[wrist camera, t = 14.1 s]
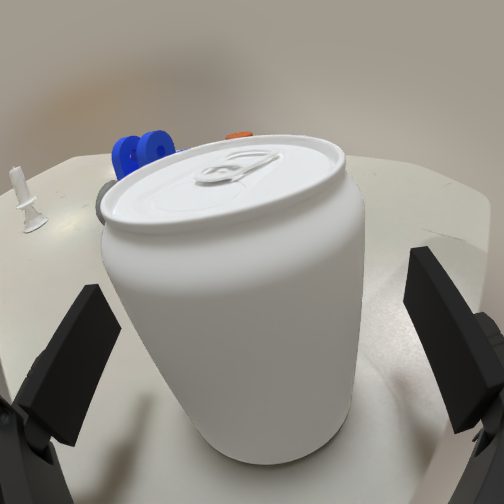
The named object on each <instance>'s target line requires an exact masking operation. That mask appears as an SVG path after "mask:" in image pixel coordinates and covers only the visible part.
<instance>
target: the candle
mask: <svg viewBox="0 0 504 504" xmlns="http://www.w3.org/2000/svg"><path fill="white" fill-rule="evenodd" d="M13 168H14V167H13ZM9 176H10V180H11V182H12V187H13V189H14V190H15V192H16V195H17V198H18V200H19V203H20V205H18V206H17V207H16V209H19V210H25V222H24V224H25V229H24V232H25V233H28V232H31V231H33V230H35V229H37V228H39V227H40V226H42V225H43V224H44V223H45V222H46V221H47V220H48V218H46V217H43V215H42V214H41V213H38V212H37V211H36V210H35V209H34V208H33V204H34V202H35V200H36V199H37V196H36V197H31V195H30V192H29V190H28V187H27V184H26V181H25V176H24V175H23V172H22V169H21V167H20V166H19V167H17V168H14V169H12V170H11V171H9Z"/></svg>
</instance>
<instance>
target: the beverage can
mask: <svg viewBox="0 0 504 504" xmlns="http://www.w3.org/2000/svg"><path fill="white" fill-rule="evenodd" d="M345 166H346V160H345V154H344V152H343V151H342V149H341V148H340V147H338V146H337V145H335V144H333V143H331V142H329V141H326V140H323V139H319V138H315V137H309V136H299V135H261V136H250V137H242V138H235V139H229V140H224V141H218V142H214V143H209V144H205V145H201V146H198V147H194V148H190V149H187V150H184V151H181V152H178V153H175V154H172V155H169V156H166V157H164V158H161V159H159V160H156V161H154V162H152V163H150V164H148V165H146V166H143V167H142V168H140V169H138V170H136V171H134V172H132V173H131V174H129V175H127V176H126V177H124V178H123V179H121V180H120V181H119V182H117V183H116V184H115V185H114V186H113V187H111V188H110V189H109V190H108V192H107V193H106V194H105V195H104V197H103V199H102V201H101V205H100V209H101V213H102V216H103V218H104V220H105V221H106V222H105V226H104V230H103V235H102V241H101V253H102V259H103V263H104V266H105V269H106V271H107V273H108V275H109V277H110V280H111V282H112V284H113V286H114V288H115V290H116V292H117V294H118V296H119V298H120V300H121V302H122V304H123V306H124V308H125V310H126V312H127V314H128V316H129V318H130V320H131V322H132V323H133V325H134V327H135V329H136V331H137V333H138V335H139V336H140V338H141V340H142V342H143V344H144V345H145V347H146V349H147V351H148V352H149V354H150V356H151V358H152V359H153V361H154V363H155V364H156V366H157V368H158V369H159V371H160V373H161V374H162V376H163V378H164V379H165V381H166V382H167V384H168V386H169V387H170V389H171V390H172V392H173V394H174V395H175V397H176V398H177V400H178V401H179V403H180V404H181V406H182V407H183V409H184V410H185V412H186V413H187V415H188V416H189V418H190V419H191V421H192V422H193V424H194V425H195V426H196V428H197V429H198V431H199V432H200V433H201V435H202V436H203V437H204V439H205V440H206V441H207V442H208V443H209V444H210V445H211V446H212V447H214V448H215V449H216V450H218V451H219V452H221V453H222V454H224V455H226V456H228V457H230V458H233V459H235V460H238V461H242V462H246V463H251V464H262V465H269V464H279V463H285V462H289V461H293V460H296V459H299V458H301V457H304V456H306V455H308V454H310V453H312V452H314V451H315V450H317V449H318V448H320V447H321V446H323V445H324V444H325V443H326V442H328V441H329V440H330V439H331V438H332V437H333V436H334V435H335V433H336V432H337V431H338V430H339V428H340V427H341V425H342V424H343V422H344V420H345V418H346V416H347V413H348V411H349V407H350V403H351V397H352V391H353V384H354V376H355V369H356V360H357V352H358V342H359V332H360V321H361V309H362V295H363V277H364V252H365V205H364V200H363V196H362V194H361V191H360V189H359V187H358V185H357V184H356V182H355V181H354V179H353V178H352V177H351V175H350V174H349V173H348V172H347V170H346V169H345Z"/></svg>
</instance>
